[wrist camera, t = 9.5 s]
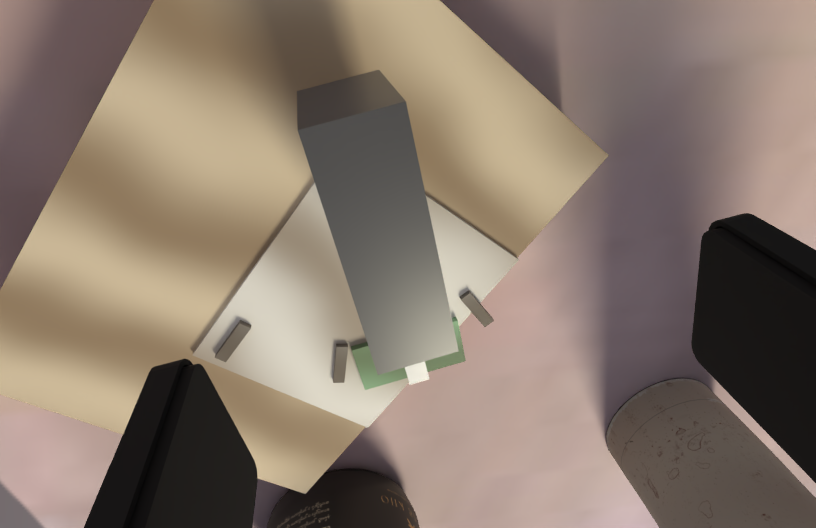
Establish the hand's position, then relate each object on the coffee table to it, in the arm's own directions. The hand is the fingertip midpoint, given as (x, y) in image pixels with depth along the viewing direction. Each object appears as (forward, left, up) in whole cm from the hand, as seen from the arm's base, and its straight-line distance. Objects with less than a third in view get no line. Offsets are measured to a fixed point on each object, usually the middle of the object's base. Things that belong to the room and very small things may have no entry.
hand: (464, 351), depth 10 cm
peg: (+3, +2, -11) cm, 11 cm away
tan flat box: (+6, -1, -15) cm, 16 cm away
